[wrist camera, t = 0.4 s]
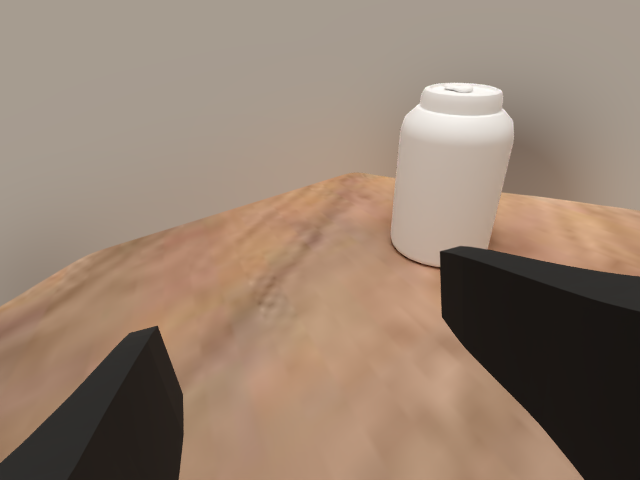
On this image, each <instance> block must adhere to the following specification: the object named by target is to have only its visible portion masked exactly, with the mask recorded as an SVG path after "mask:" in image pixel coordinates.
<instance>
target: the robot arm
mask: <svg viewBox="0 0 640 480" xmlns="http://www.w3.org/2000/svg"><path fill="white" fill-rule="evenodd" d="M440 275H441V305H442V318H443V319H444V320H445V322H446V323H447V325H448V326H449V327H450V329H451V330H452V332H453V333H454V334H455V336H456V337H457V338H458V340H459V341H460V342H461V343H462V345H463V346H464V347H465V348H466V349H467V350H468V351H469V352H470V353H471V354H472V356H473V357H474V358H475V359H476V360H477V361H478V362H479V363H480V364H481V365H482V366H483V367H484V368H485V369H486V370H487V371H488V372H489V373H490V374H491V375H492V376H493V377H494V378H495V379H496V380H497V381H498V382H499V383H500V384H501V385H502V386H503V387H504V388H505V389H506V390H507V391H508V392H509V393H510V394H511V395H512V396H513V397H514V398H515V399H516V400H517V401H518V402H519V403H520V404H521V405H522V406H523V407H524V408H525V409H526V410H527V411H528V412H529V413H530V415H531V416H532V417H533V418H534V419H535V420H536V421H537V422H538V423H539V424H540V425H541V427H542V428H543V429H544V430H545V431H546V432H547V434H548V435H549V436H550V437H551V439H552V440H553V441H554V442H555V443H556V445H557V446H558V447H559V448H560V450H561V451H562V452H563V453H564V454H565V456H566V457H567V458H568V459H569V461H570V462H571V463H572V464H573V465H574V467H575V468H576V469H577V471H578V472H579V473H580V475H581V476H582V477H583V478H584V480H640V277H639V276H630V275H621V274H614V273H607V272H600V271H594V270H588V269H582V268H577V267H571V266H565V265H560V264H555V263H550V262H545V261H540V260H535V259H530V258H526V257H521V256H516V255H511V254H507V253H502V252H497V251H492V250H487V249H482V248H475V247H468V246H458V247H454V248H451V249H447V250H443V251H440ZM183 435H184V434H183V393H182V391H181V388H180V385H179V382H178V380H177V377H176V374H175V372H174V369H173V366H172V363H171V361H170V358H169V355H168V353H167V350H166V347H165V345H164V342H163V339H162V336H161V334H160V331H159V328H158V326H155V327H151V328H147V329H143V330H140V331H136V332H132V333H129V334H128V335H127V336H126V337H125V338H124V339H123V340H122V341H121V342H120V343H119V344H118V345H117V346H116V347H115V348H114V349H113V350H112V351H111V353H110V354H109V355H108V356H107V357H106V358H105V359H104V360H103V361H102V362H101V363H100V365H99V366H98V367H97V368H96V369H95V370H94V371H93V372H92V373H91V374H90V375H89V376H88V377H87V379H86V380H85V381H84V382H83V383H82V384H81V385H80V386H79V387H78V388H77V389H76V390H75V391H74V392H73V394H72V395H71V396H70V397H69V398H68V399H67V400H66V401H65V402H64V403H63V404H62V405H61V406H60V407H59V408H58V409H57V410H56V411H55V412H54V413H53V414H52V415H51V416H50V417H48V418H47V419H46V420H45V421H44V422H43V423H42V424H41V425H40V426H39V427H38V428H37V429H36V430H35V431H34V432H33V433H32V434H31V435H30V436H29V437H28V438H27V439H26V440H25V441H24V442H23V443H22V444H21V445H20V446H19V447H18V448H17V449H15V450H14V451H13V452H12V453H11V454H10V455H9V456H8V457H7V458H5V459H4V460H3V461H2V462H1V463H0V480H179V472H180V463H181V454H182V445H183Z"/></svg>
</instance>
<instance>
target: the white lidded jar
mask: <svg viewBox="0 0 640 480" xmlns="http://www.w3.org/2000/svg"><path fill="white" fill-rule="evenodd" d="M502 104H503V94H502V91H501V90H500V89H497V88H495V87H492V86H488V85H481V84H472V83H440V84H434V85H430V86H428V87H426V88H425V89H424V90H423V92H422V94H421V98H420V104H418V105H417V106H416V107H415V108H414V109H412V110H411V111H410V112H409V113H408V114H407V115H406V116H405V118H404V121H403V123H402V126H401V129H400V139H399V150H398V160H397V171H396V181H395V192H394V202H393V213H392V224H391V240H392V243H393V245H394V246H395V248H396V249H397V250H398V251H399V252H400V253H401V254H403V255H404V256H406V257H407V258H409V259H411V260H414V261H416V262H419V263H421V264H426V265H431V266H435V267H440V251H443V250H447V249H451V248H454V247H458V246H468V247H475V248H482V249H488V245H489V241H490V237H491V233H492V229H493V225H494V220H495V216H496V212H497V208H498V204H499V200H500V196H501V191H502V187H503V183H504V179H505V175H506V171H507V166H508V162H509V158H510V154H511V150H512V146H513V141H514V127H513V120H512V119H511V117H510V116H509V115H508V114H507V113H506V111H505V110H504V109H502Z"/></svg>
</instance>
